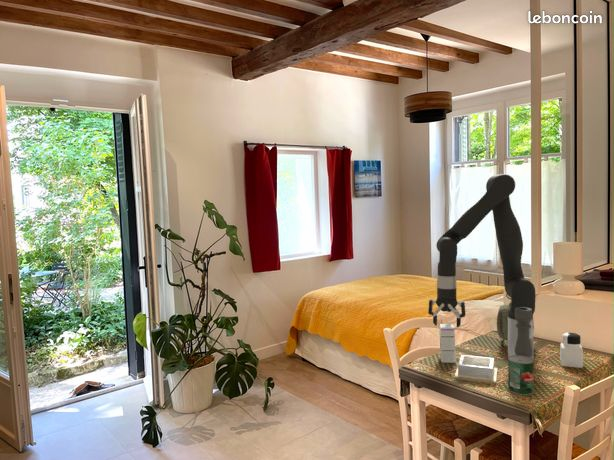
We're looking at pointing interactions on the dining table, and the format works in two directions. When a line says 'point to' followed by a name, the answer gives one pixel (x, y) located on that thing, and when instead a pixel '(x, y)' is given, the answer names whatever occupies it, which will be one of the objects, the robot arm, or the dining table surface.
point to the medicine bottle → (571, 351)
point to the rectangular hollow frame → (476, 369)
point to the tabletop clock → (504, 321)
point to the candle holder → (523, 331)
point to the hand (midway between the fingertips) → (446, 325)
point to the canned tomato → (520, 375)
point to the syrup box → (447, 343)
